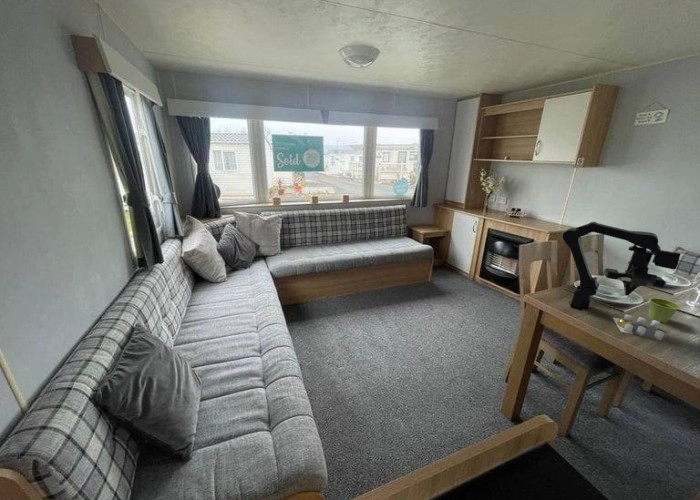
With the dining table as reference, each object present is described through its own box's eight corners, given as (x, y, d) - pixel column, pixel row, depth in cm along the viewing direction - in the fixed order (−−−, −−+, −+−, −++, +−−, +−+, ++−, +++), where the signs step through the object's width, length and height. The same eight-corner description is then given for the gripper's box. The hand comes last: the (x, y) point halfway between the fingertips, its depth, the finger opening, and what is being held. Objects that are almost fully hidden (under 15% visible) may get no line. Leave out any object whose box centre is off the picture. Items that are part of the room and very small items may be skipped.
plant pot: (663, 327, 125) (671, 310, 122) (637, 315, 134) (644, 299, 131) (677, 324, 128) (685, 307, 125) (651, 313, 136) (658, 296, 133)
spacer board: (620, 332, 121) (623, 325, 120) (611, 318, 131) (614, 311, 130) (667, 343, 115) (671, 336, 113) (655, 328, 125) (658, 320, 123)
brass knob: (618, 326, 124) (620, 321, 123) (616, 321, 127) (618, 316, 126) (630, 329, 122) (633, 324, 121) (627, 324, 125) (630, 319, 125)
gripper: (616, 264, 119) (604, 297, 124) (679, 274, 111) (663, 309, 116) (609, 255, 128) (597, 287, 133) (666, 264, 120) (652, 297, 125)
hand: (626, 295), depth 127 cm, fingers closed
